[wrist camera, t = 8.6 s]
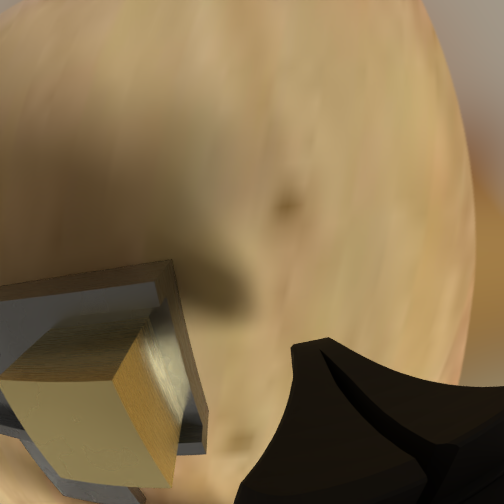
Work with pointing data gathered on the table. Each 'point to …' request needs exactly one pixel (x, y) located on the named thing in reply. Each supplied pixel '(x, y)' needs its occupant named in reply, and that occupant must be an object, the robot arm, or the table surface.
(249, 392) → the table surface
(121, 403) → the block
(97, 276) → the rail
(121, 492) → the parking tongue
